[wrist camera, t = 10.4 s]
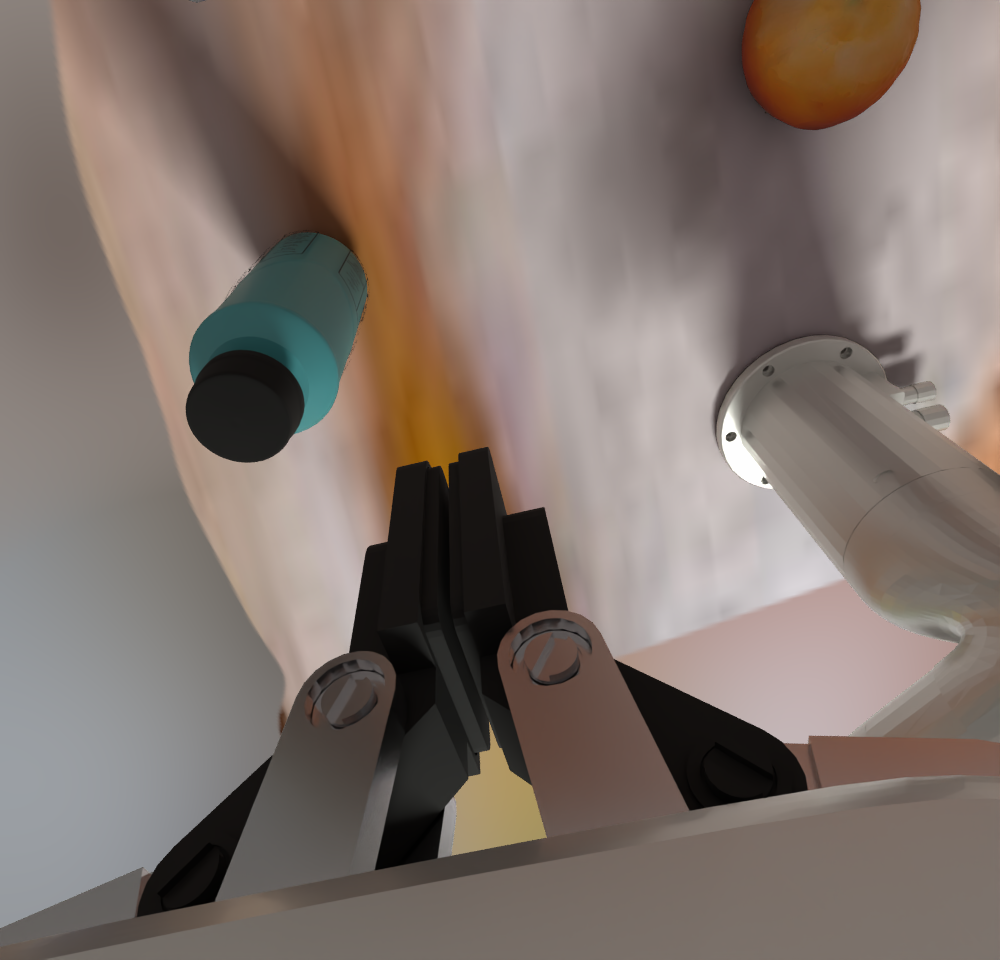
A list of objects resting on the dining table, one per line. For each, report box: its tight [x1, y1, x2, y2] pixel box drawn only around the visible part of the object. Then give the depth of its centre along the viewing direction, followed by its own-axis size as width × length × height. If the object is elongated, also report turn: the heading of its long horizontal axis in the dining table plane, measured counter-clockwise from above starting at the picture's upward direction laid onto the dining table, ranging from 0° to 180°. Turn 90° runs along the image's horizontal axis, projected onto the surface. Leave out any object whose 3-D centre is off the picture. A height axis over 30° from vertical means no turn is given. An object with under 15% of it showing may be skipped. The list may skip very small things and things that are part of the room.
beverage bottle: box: [186, 230, 369, 463], centre depth 32 cm, size 6×7×20 cm
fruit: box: [742, 0, 921, 130], centre depth 33 cm, size 8×8×8 cm
